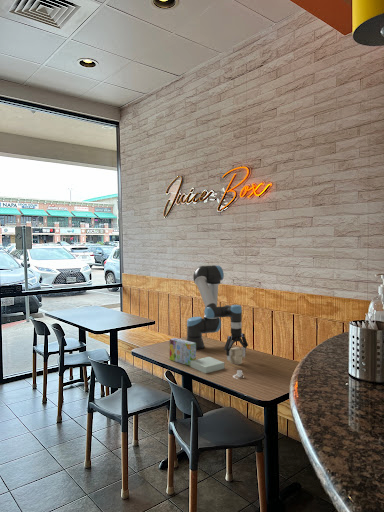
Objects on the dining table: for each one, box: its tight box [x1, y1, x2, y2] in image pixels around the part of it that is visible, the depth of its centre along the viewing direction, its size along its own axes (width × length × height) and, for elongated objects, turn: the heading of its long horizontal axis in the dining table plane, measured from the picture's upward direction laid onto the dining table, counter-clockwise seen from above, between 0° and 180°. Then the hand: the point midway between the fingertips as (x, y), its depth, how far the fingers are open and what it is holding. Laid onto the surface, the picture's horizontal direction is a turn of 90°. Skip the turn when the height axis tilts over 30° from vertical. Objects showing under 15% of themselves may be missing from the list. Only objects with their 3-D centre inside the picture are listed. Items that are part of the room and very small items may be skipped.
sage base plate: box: [190, 356, 225, 374], centre depth 261 cm, size 16×16×4 cm
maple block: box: [229, 346, 243, 366], centre depth 271 cm, size 6×6×10 cm
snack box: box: [169, 337, 197, 367], centre depth 272 cm, size 21×6×15 cm, turn 47°
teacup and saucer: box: [232, 369, 244, 380], centre depth 244 cm, size 9×8×4 cm
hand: (236, 358), depth 271 cm, fingers open, 13 cm apart
